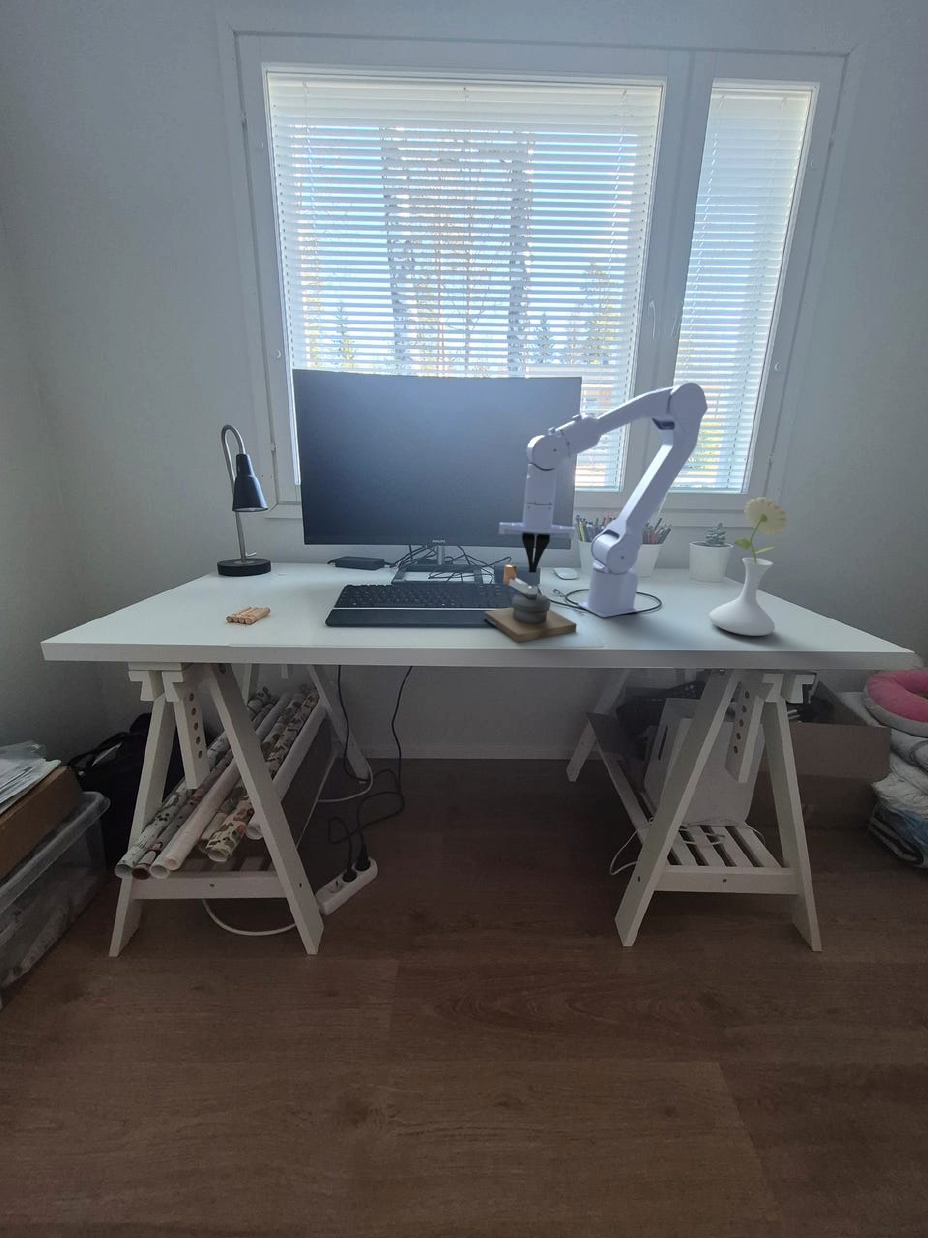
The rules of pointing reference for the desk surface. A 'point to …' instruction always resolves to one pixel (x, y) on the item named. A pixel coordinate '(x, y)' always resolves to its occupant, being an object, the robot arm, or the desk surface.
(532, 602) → the wooden base with cylinder
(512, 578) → the hammer
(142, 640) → the desk surface
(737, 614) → the flower in vase
